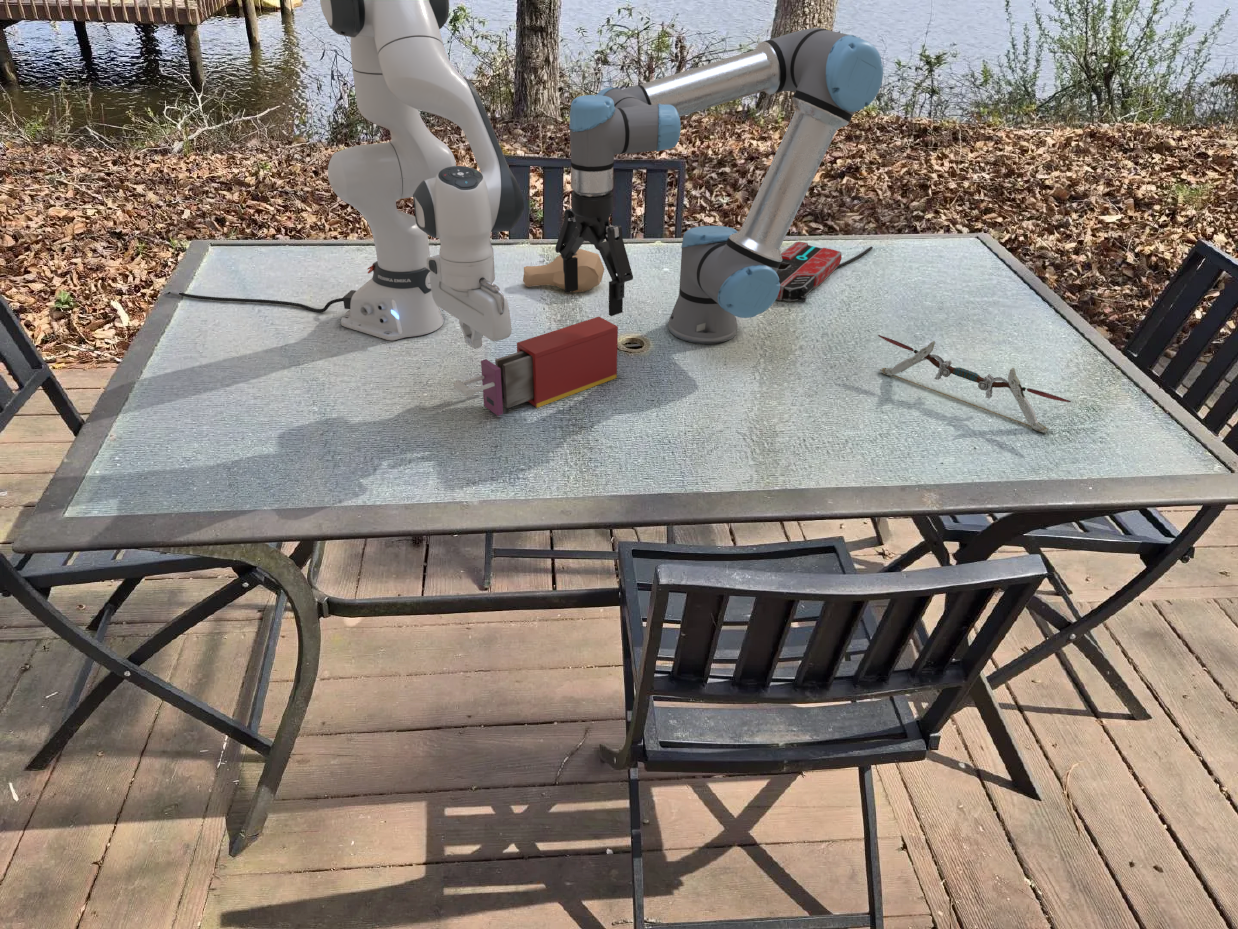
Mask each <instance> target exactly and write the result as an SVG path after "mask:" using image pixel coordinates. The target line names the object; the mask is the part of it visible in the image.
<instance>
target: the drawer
mask: <svg viewBox="0 0 1238 929" xmlns="http://www.w3.org/2000/svg"><path fill="white" fill-rule="evenodd" d="M494 362H495V364H494V363H493V362H491V361H490V360H488V359H486V358H485V359H482V360H480V367H481V368H480V369H481V375H478V376H475V377H473V378H470V379H466V380H464V381H461V380H456V381H454V383H453V388H454V389H456V390H457V391H458V392H460V393H461V394H462V395H463V396H465V397H467V398H469V399H470V398H472V397H473V396H474V394H476V393H479V392H481V391H482V397H483V398H482V399H483V406H484V407H485V408H486V409H488V410H489V411H490V412H492V413H493V414H494V415H496V416H502V415H504V408H506V409H509V408H512V407H514V406H515V407H516V406H518V405H521V404H523V403H526V402H528V401H529V400H531V399H534V383H533V356H531V355H529V354H528V353H526V352H525V351H520V352H517V351H516V352H514V353H511V354H507V355H505V356H502V357H498V358H496V359H495V360H494ZM480 381H481V384H482V385H480V386H476V387H474V388H471V387H469V386H468V385H470V384H474V383H476V382H480Z"/></svg>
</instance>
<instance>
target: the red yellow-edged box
mask: <svg viewBox="0 0 1238 929" xmlns="http://www.w3.org/2000/svg"><path fill="white" fill-rule="evenodd" d="M618 337H619V326H618V325H616V324H614V323H613V322H611V321H608V320H607V319H604V318H603V317H601V316H596V317H592V318H590V319H586V320H584V321H581V322H577V323H574V324H571V325H568V326H565V327H562V328H558V329H555V330H552V331H549V332H546V333H544V334H540V335H537V336H533V337H531V338H527V339H524V340H521V341H517V342H516V353H517V352H520V351H525V352H526V353H528V354H529V355H531V356H533V383H534V399H531V400H529V401H527V403H529V404H531V405H532V406H533V407H535V408H536V409H538V408H541V407H543V406H546V405H548V404H551V403H555V402H556V401H559V400H562V399H565V398H568V397H570V396H572V395H575V394H578V393H580V392H584V391H586V390H588V389H591V388H594V387H596V386H600V385H602V384H605V383H607V382H610V381H612V380H616V379H617V378H618V344H619V342H618V341H619V340H618V339H619V338H618Z"/></svg>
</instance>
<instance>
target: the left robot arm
mask: <svg viewBox="0 0 1238 929" xmlns="http://www.w3.org/2000/svg"><path fill="white" fill-rule="evenodd" d="M319 2H320V4H319V5H320V8H321V11H322V14H323V16H324V18H325V20H326V21H327V25H328V28H330V29H331V30H332V31H333V32H335V34H337V35H340V36H343V37H348V38H350V59H351V68H352V77H353V83H354V84H353V85H354V92H355V98H356V99H355V100H356V107H357V109H358V111H359V113H360V114H361V116H362V117H363V118H364V119H365V120H366V121H368V122H371V123H372V124H374V125H377V126H378V127H382V128H384V129H387V130H388V131H389V133H390V138H391V140H390V141H387V142H378V143H370V144H360V145H354V146H351V147H347V148H345V149H341V150H338V151H336V152H334V153H333V155H332V156H331V157H330V159H329V161H328V164H327V179H328V182H329V186H330V188H331V189H332V192H334V194H335V195H336V196H337V197H338V198H339V199H340V200H341V201H342V202H344V203H346V204H348V205H350V206H351V207H353V208H354V209H355V210H356V211H358V212H359V213H360V214H361V216H362V217H363V218H364V220H365V221H366V222H367V224H368V226H369V228H370V231H371V235H372V240H373V243H374V248H375V253H376V254H375V255H376V261H374V262H373V263H372V265H371V266H369V267H368V268H367V274H370V273H372V277H371V278H370V279H369V280H367V282H365V283H364V284H363V285H362V286H360V287H359V288H358V289H356V290H354V289H351V290H349V291H348V292H347V293H346V294H345V295H344V296H342V297H340V298H334V299H332V300H330V301H328V302H327V303H326V304H325V306H324V307H323V308H314V307H311V306H308V305H306V304H303V303H299V302H292V301H284V300H276V299H259V298H242V297H241V298H240V297H239V298H238V297H218V296H207V295H206V296H205V295H198V294H190V293H185V292H182V293H179V294H178V295H179V296H181V297H185V298H189V299H196V300H205V301H216V302H232V303H233V302H235V303H254V304H255V303H257V304H272V305H283V306H291V307H296V308H301V309H304V310H307V311H310V312H314V313H324V312H326V311H328V309H329V308H330V307H331V305H333V304H336V303H341V302H342V303H343V307H344V310H347V311H346V313H344V314H343V316H342V317H341V320H340V324H341V326H342V327H344V328H347V329H350V330H354V331H357V332H360V333H364V334H367V335H370V336H373V337H377V338H380V339H383V340H387V341H396V340H397V341H398V340H401V339H404V338H412V337H420V336H423V335H427V334H430V333H431V334H432V333H434V332H436V331H437V330H439V329H441V327H442V326H443V325H444V323H445V320H444V317H443V314H442V312H441V310H440V309H442V311H444V312H446V313H447V314H449V315H450V316H452V317H454V318H455V319H457V320H458V324H459V327H460V329H461V331H462V334H463V339H464V343H465V344H466V345H468V346H470V347H471V348H472V349H474V350H477V349H480V348H482V346H483V337H485V338H486V339H488V340H490V341H492V342H494V343H495V342H498V341H502V340H505V339H508V338H510V337H511V335H512V332H513V331H512V330H513V329H512V328H513V327H512V321H511V320H512V319H511V312H510V306H509V302H508V298H507V297H506V295H505V294H504V293H503V292H501V289H500V287H499V286H498V285H497V284H495V283H494V282H495V280H496V272H495V254H494V247H493V244H492V241H491V235H492V234H491V233H501V232H503V233H504V232H509V231H511V230H512V229H513V228H514V227H515V226H516V225H517V223H518V222H519V221H520V219H521V217H522V216H523V214H524V211H525V210H524V209H525V204H524V197H523V193H522V190H521V187H520V185H519V183H518V181H517V179H516V177H515V175H514V174H513V172H512V169H511V168H510V166H509V164H508V162H507V160H506V157H505V154H504V152H503V150H502V148H501V145H500V143H499V139H498V138H497V135H496V132H495V130H494V127H493V125H492V123H491V120H490V118H489V116H488V113H487V110H486V109H485V106H484V103H483V101H482V100H481V97H480V95H479V92H478V91H477V89H476V87H475V85H474V83H473V82H472V81H471V80H470V79H468V78H466V77H464V76H462V74H461V73H459V72H458V70H457V69H456V68H455V67H454V65H453V64H452V62H451V60H450V58H449V57H448V54H447V52H446V49H445V45H444V42H443V38H442V34H441V31H440V30H442V28H443V27H444V26H445V25H446V23H447V22H448V19H449V16H450V15H449V14H450V0H319ZM420 111H421V112H425V113H429V114H433V115H435V116H439V117H441V118H444V119H446V120H448V121H450V122H452V123H454V124H455V125H456V126H458V127H459V128H460V129H461V130H462V132H463V134H464V135H465V137H466V140H467V142H468V144H469V147H470V150H471V152H472V154H473V157H474V159H475V161H476V164H477V166H478V169H479V170H478V169H476V168H473V167H470V166H466V165H457V162H456V158H455V155H454V153H453V152H452V150H451V149H450V147H449V146H448V145H447V144H446V143H444V142H443V141H442V140H440V139H439V138H437V137H436V136H435V135H434V134H433V133H432V131H430V129H428V127H427V126H426V124H425V123H424V121H423V119H422V116H421V114H420ZM411 198H412V200H413V210H414V214H413V215H412V214H410V213H408V212H404V211H402V210H399V209H398V207H397V201H399V200H402V199H411ZM429 236H430V237H431V238H433V239H439V243H440V246H439V252H438V253H439V254H436V255H432V256H431V253H430V243H429Z"/></svg>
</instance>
